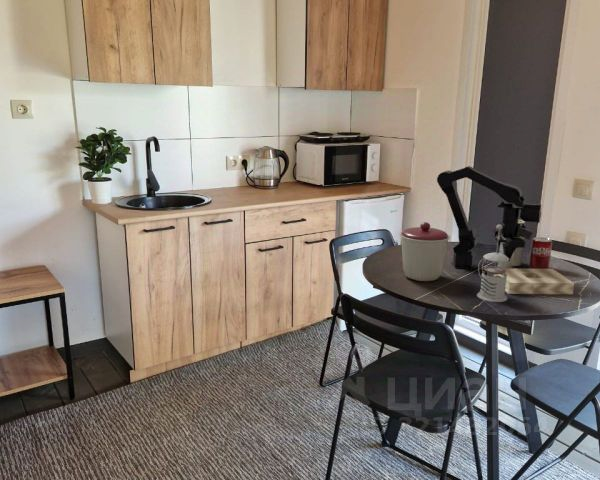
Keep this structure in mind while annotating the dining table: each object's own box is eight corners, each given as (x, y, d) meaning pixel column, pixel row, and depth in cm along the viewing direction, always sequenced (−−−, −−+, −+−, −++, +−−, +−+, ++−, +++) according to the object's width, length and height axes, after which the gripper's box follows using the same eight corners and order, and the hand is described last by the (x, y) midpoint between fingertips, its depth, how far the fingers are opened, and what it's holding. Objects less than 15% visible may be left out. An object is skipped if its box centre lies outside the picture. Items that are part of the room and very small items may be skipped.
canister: (455, 276, 194) (459, 222, 189) (431, 288, 181) (436, 230, 176) (412, 266, 206) (416, 215, 201) (388, 277, 193) (390, 222, 188)
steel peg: (501, 269, 197) (504, 244, 194) (497, 266, 201) (500, 241, 198) (511, 270, 197) (514, 244, 194) (507, 266, 201) (510, 242, 198)
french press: (491, 303, 168) (499, 229, 162) (466, 292, 178) (473, 221, 172) (514, 299, 172) (522, 226, 166) (488, 288, 182) (496, 219, 176)
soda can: (550, 271, 201) (554, 242, 198) (530, 270, 202) (534, 241, 199) (546, 266, 208) (549, 237, 205) (526, 265, 209) (530, 236, 206)
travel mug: (524, 264, 210) (529, 221, 205) (512, 267, 205) (518, 223, 201) (507, 259, 216) (512, 217, 212) (495, 263, 212) (500, 220, 207)
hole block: (508, 293, 177) (509, 282, 176) (492, 278, 192) (493, 268, 191) (572, 294, 177) (574, 283, 176) (551, 279, 192) (552, 268, 191)
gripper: (542, 225, 185) (537, 267, 189) (521, 214, 203) (517, 253, 207) (511, 225, 185) (506, 266, 189) (493, 214, 203) (489, 252, 207)
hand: (505, 259), depth 198 cm, fingers closed on steel peg, 4 cm apart
